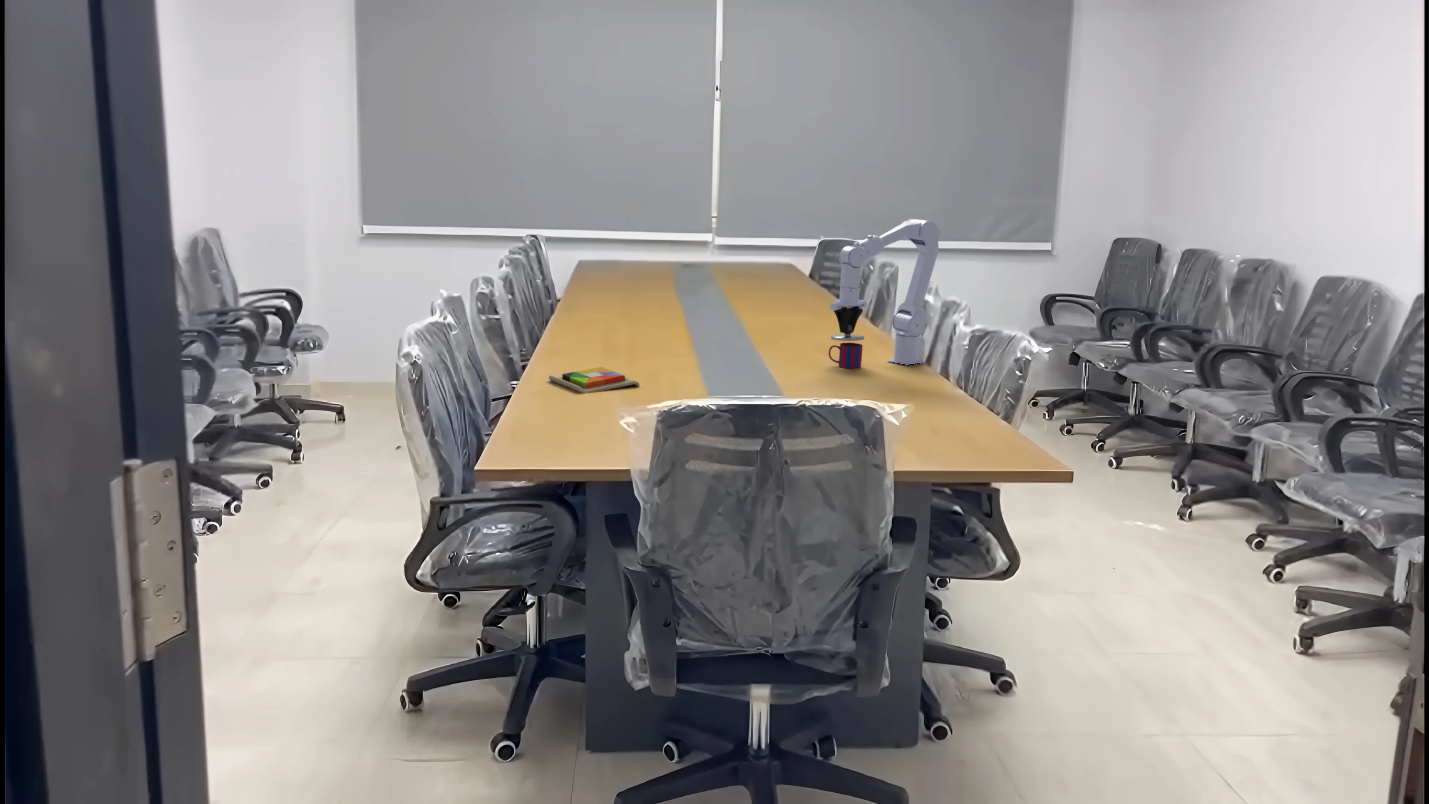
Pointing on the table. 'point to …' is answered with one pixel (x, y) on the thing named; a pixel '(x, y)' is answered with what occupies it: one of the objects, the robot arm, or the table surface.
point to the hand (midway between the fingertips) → (846, 332)
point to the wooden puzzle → (593, 380)
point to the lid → (847, 336)
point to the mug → (849, 355)
